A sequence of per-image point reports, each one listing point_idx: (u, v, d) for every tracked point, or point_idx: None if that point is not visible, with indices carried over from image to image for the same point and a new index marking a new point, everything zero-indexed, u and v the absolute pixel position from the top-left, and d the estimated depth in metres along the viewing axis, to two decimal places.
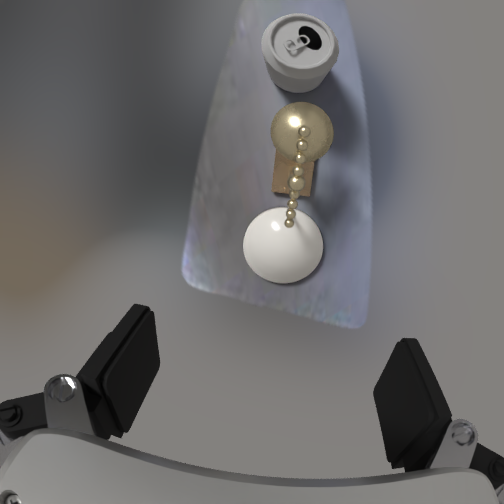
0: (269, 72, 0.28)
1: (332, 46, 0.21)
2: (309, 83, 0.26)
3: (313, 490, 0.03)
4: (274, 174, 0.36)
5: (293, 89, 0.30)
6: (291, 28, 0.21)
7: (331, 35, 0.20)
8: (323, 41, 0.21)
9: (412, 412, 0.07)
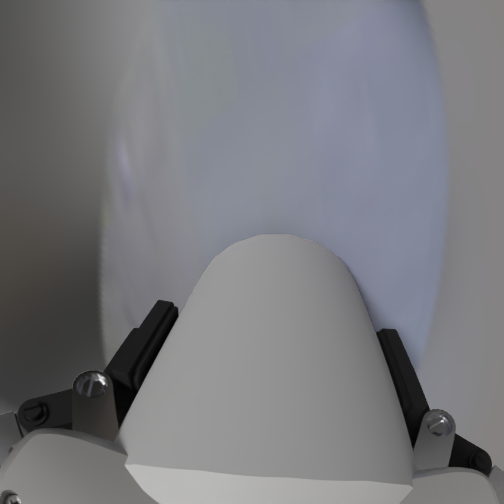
0: None
1: None
2: None
3: None
4: None
5: None
6: None
7: None
8: None
9: None
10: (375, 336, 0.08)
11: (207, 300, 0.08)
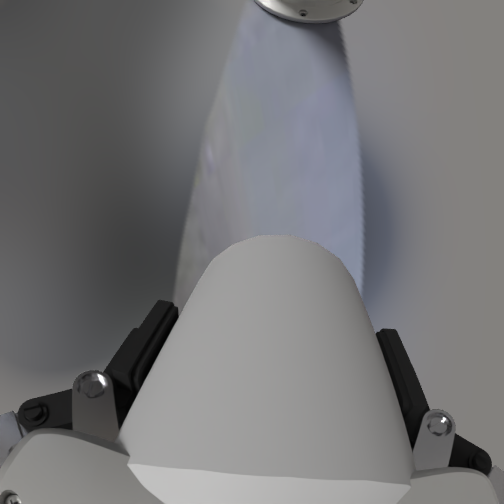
0: None
1: None
2: None
3: None
4: None
5: None
6: None
7: None
8: None
9: None
10: (374, 336, 0.08)
11: (208, 301, 0.08)
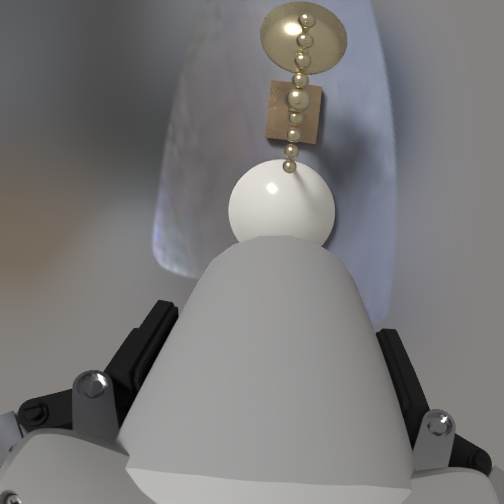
0: None
1: None
2: None
3: None
4: (269, 115, 0.26)
5: None
6: None
7: None
8: None
9: None
10: (375, 338, 0.08)
11: (207, 303, 0.08)
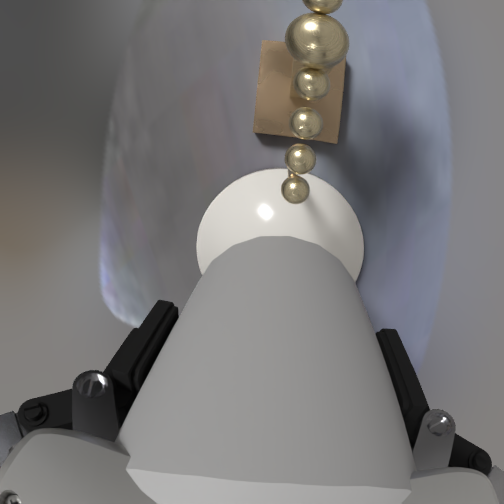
0: None
1: None
2: None
3: None
4: (259, 96, 0.15)
5: None
6: None
7: None
8: None
9: None
10: (375, 339, 0.08)
11: (207, 303, 0.08)
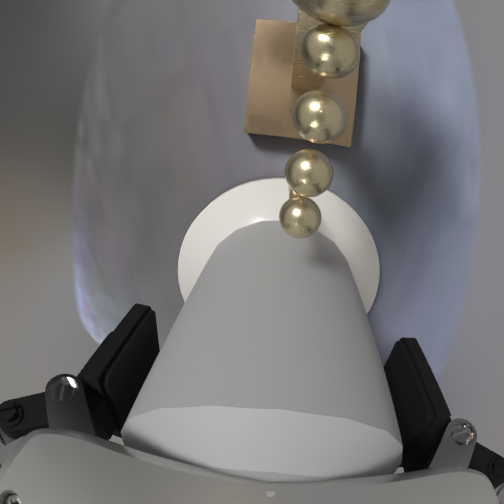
0: None
1: None
2: None
3: (313, 490, 0.03)
4: (252, 87, 0.12)
5: None
6: None
7: None
8: None
9: (411, 412, 0.07)
10: (363, 309, 0.09)
11: (215, 278, 0.09)
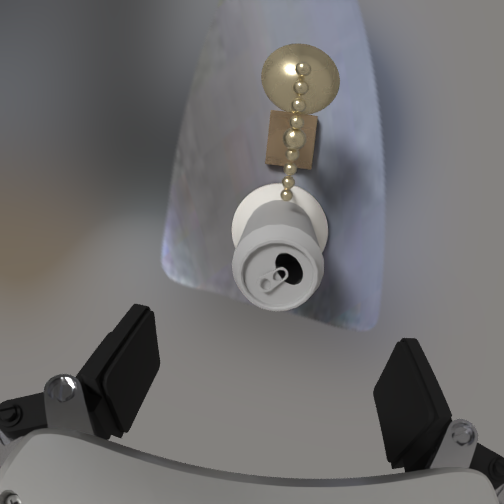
0: None
1: (314, 283, 0.22)
2: None
3: (313, 490, 0.03)
4: (268, 143, 0.30)
5: None
6: (266, 257, 0.22)
7: (315, 268, 0.22)
8: (305, 273, 0.22)
9: (412, 412, 0.07)
10: (311, 226, 0.27)
11: (259, 214, 0.27)
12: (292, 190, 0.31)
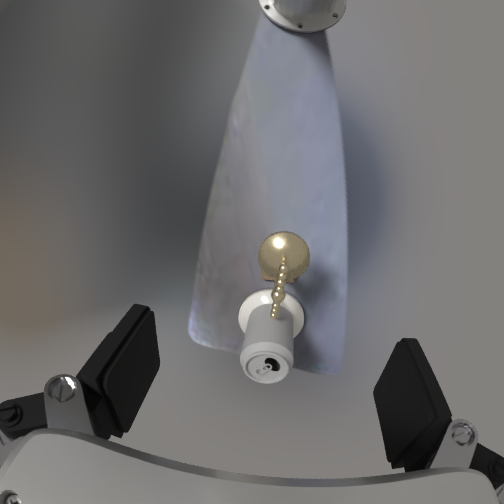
0: None
1: (286, 372, 0.37)
2: (274, 365, 0.43)
3: (313, 490, 0.03)
4: None
5: None
6: (259, 359, 0.37)
7: (287, 365, 0.37)
8: (281, 366, 0.37)
9: (412, 412, 0.07)
10: (290, 328, 0.42)
11: (256, 321, 0.42)
12: None
